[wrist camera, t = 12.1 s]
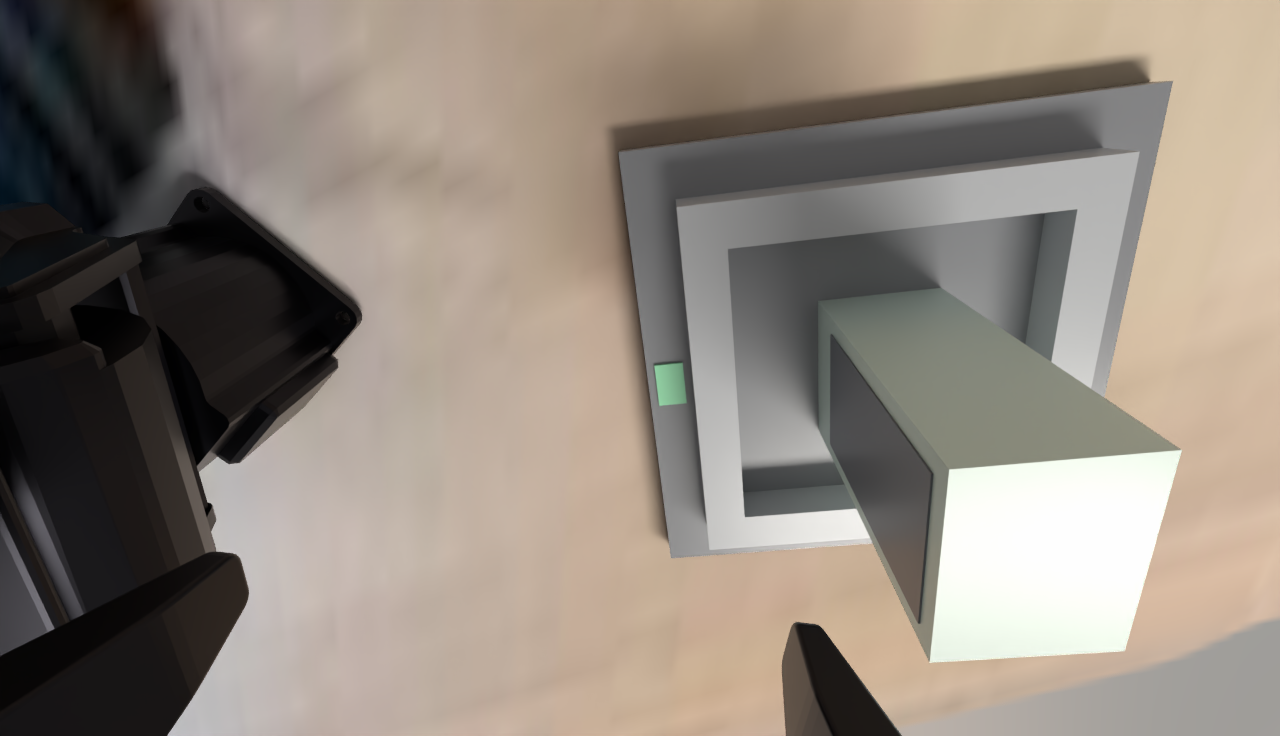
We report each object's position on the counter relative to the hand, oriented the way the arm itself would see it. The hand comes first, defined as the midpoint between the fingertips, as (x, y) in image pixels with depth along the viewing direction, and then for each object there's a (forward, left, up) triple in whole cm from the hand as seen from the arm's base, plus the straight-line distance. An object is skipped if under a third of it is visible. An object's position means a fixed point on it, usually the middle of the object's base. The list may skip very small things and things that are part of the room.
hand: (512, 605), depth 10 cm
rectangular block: (+8, +6, -12) cm, 16 cm away
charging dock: (+8, +6, -13) cm, 16 cm away
